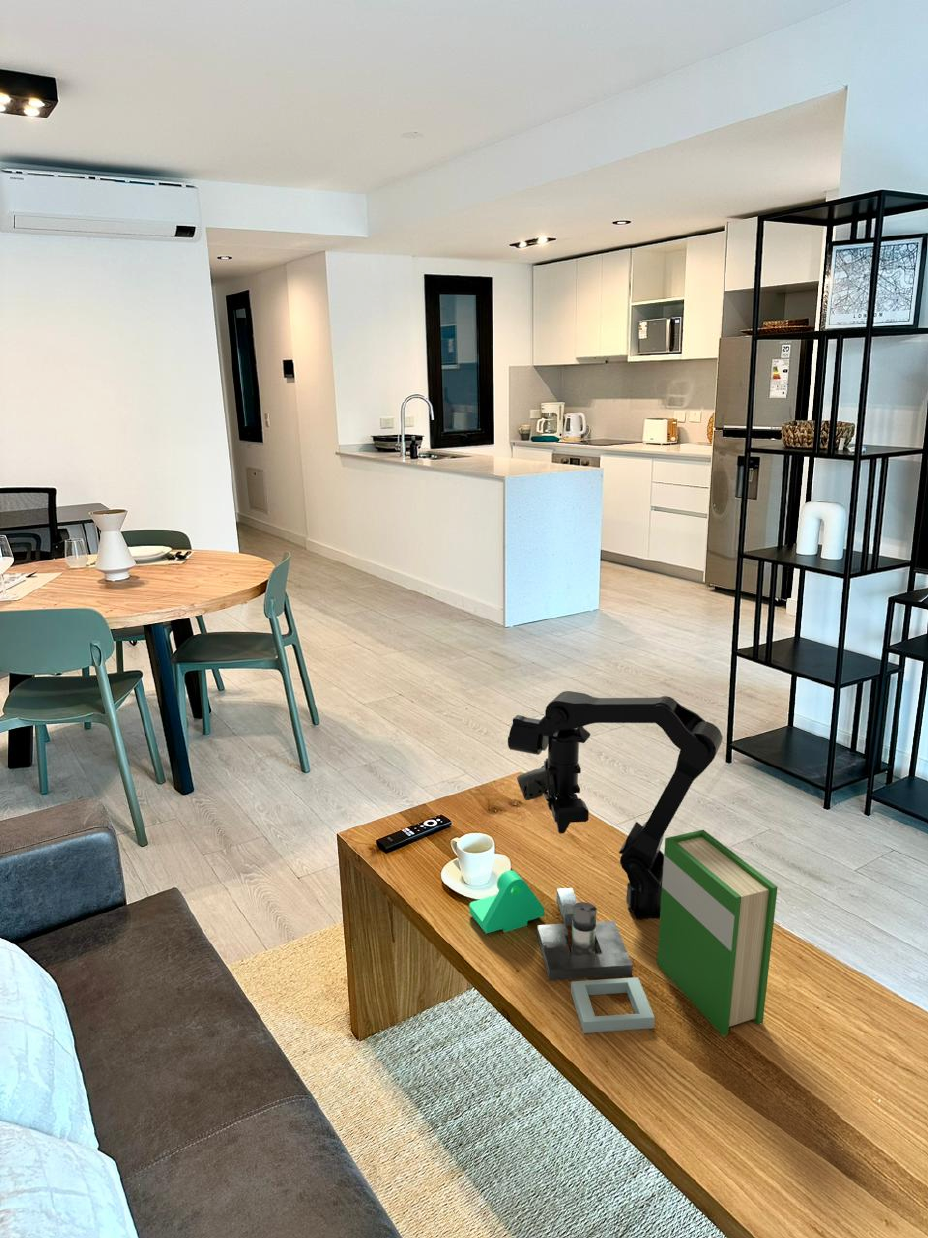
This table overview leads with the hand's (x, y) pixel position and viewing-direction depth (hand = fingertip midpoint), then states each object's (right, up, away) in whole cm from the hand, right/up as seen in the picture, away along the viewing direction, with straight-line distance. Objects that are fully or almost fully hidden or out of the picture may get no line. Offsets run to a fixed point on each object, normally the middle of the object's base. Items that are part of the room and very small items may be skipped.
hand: (561, 832), depth 162 cm
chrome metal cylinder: (+2, -17, -17) cm, 24 cm away
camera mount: (-11, -14, -7) cm, 19 cm away
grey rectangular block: (+1, -13, -6) cm, 15 cm away
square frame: (+4, -20, -30) cm, 36 cm away
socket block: (+2, -17, -17) cm, 24 cm away
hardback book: (+21, -19, -26) cm, 38 cm away
